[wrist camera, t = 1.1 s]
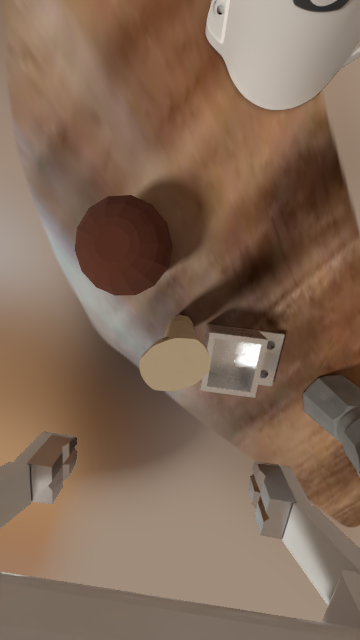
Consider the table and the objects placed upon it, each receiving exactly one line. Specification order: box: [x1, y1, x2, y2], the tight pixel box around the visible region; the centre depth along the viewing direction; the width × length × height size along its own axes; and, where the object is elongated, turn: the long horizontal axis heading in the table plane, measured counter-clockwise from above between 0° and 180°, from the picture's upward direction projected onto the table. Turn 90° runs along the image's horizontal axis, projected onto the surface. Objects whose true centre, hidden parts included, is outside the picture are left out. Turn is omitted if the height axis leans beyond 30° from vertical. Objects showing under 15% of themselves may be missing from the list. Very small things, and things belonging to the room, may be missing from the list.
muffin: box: [75, 195, 172, 295], centre depth 26 cm, size 12×11×10 cm
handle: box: [139, 315, 211, 391], centre depth 25 cm, size 5×6×15 cm
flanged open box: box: [200, 324, 285, 398], centre depth 31 cm, size 9×12×5 cm
